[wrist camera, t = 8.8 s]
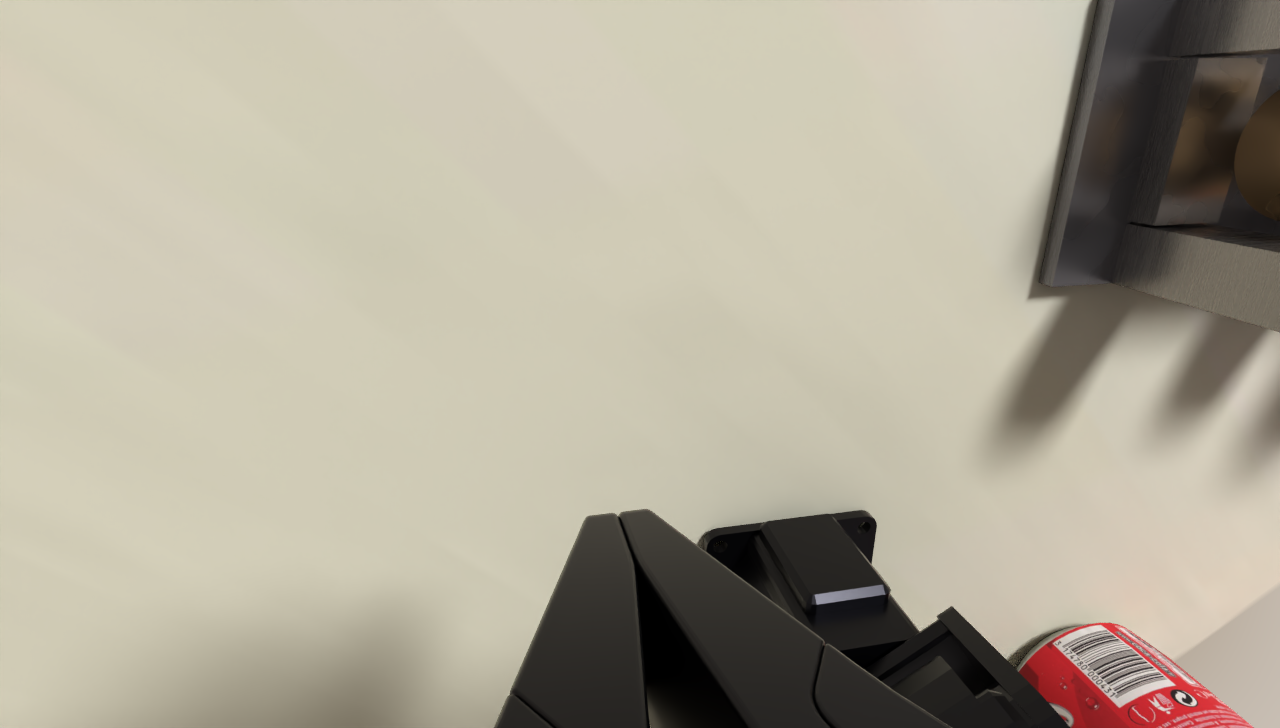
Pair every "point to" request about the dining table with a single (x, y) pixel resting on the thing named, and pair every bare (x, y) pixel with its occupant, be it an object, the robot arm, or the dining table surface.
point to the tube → (1261, 159)
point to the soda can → (1119, 682)
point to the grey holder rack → (1170, 158)
